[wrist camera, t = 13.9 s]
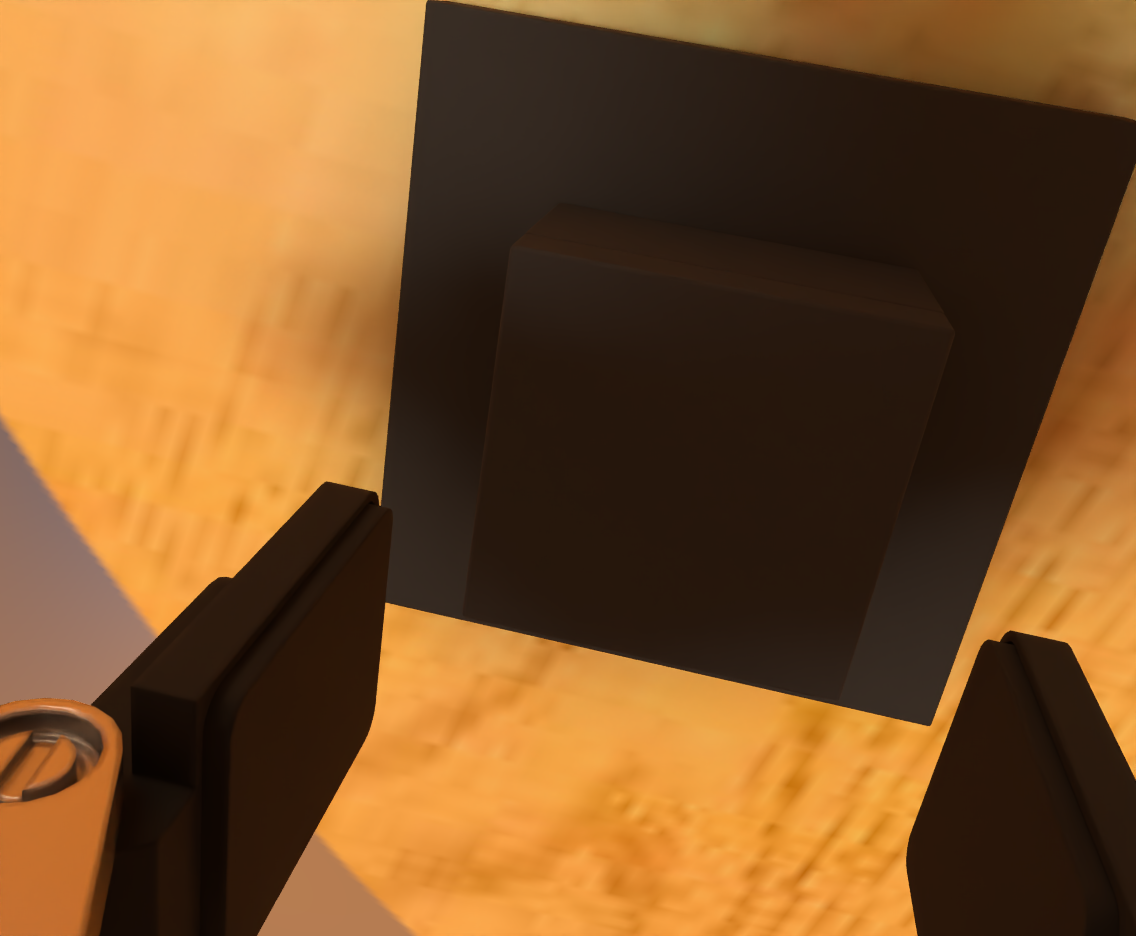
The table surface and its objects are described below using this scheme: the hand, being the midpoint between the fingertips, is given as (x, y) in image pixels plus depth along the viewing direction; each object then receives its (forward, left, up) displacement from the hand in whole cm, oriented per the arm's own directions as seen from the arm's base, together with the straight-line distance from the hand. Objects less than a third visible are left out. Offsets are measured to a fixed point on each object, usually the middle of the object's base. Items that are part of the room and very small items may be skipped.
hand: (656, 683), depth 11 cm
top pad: (0, 0, -9) cm, 9 cm away
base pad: (0, 0, -11) cm, 11 cm away
